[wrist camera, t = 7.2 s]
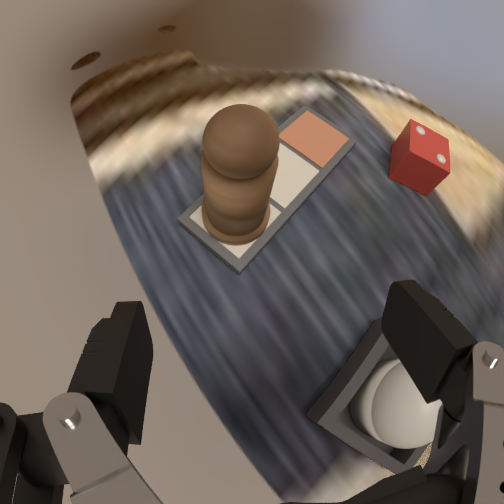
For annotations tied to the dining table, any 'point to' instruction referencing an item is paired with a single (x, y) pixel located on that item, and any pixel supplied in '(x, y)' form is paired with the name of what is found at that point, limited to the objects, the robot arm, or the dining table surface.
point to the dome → (394, 408)
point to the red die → (419, 158)
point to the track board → (271, 198)
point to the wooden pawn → (238, 173)
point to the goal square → (313, 138)
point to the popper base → (342, 391)
